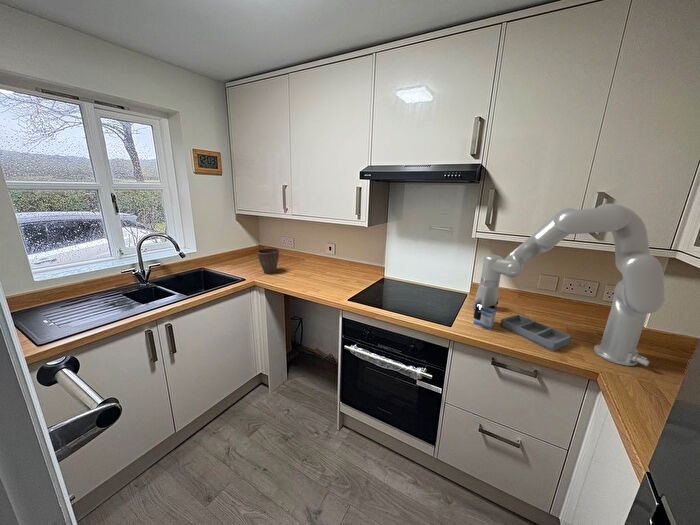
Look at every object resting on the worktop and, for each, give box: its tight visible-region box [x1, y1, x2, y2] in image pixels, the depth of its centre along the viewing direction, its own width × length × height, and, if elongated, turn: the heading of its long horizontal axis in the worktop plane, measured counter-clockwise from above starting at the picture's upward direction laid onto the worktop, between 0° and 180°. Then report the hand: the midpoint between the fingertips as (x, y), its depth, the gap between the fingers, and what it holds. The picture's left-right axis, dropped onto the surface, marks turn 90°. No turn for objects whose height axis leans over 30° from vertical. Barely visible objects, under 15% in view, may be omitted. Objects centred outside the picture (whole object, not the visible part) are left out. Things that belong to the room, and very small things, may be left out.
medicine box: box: [472, 305, 497, 330], centre depth 131 cm, size 8×4×9 cm, turn 45°
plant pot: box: [256, 247, 280, 275], centre depth 201 cm, size 15×15×16 cm
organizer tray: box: [499, 313, 573, 352], centre depth 124 cm, size 23×13×4 cm, turn 28°
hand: (483, 317), depth 131 cm, fingers open, 9 cm apart
